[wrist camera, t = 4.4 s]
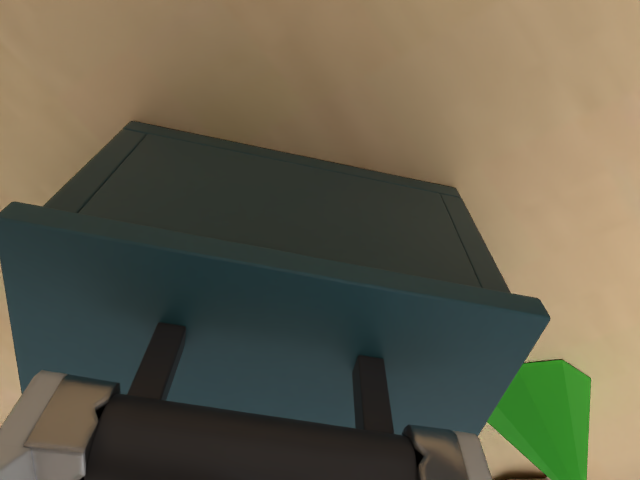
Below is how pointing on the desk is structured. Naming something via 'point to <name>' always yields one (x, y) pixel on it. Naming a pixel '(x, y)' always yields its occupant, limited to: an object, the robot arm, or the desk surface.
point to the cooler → (281, 204)
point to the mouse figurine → (532, 479)
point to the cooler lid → (252, 350)
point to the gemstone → (548, 417)
